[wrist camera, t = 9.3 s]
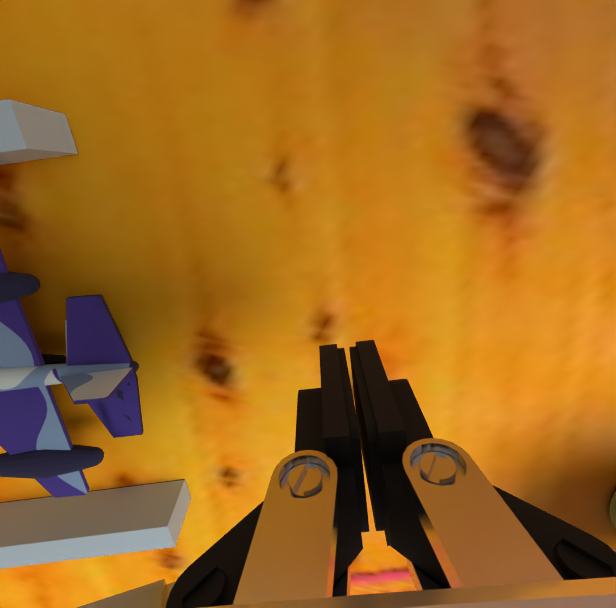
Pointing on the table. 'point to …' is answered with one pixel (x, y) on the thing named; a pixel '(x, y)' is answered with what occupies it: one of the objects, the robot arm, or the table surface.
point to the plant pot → (613, 510)
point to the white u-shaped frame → (96, 504)
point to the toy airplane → (55, 370)
